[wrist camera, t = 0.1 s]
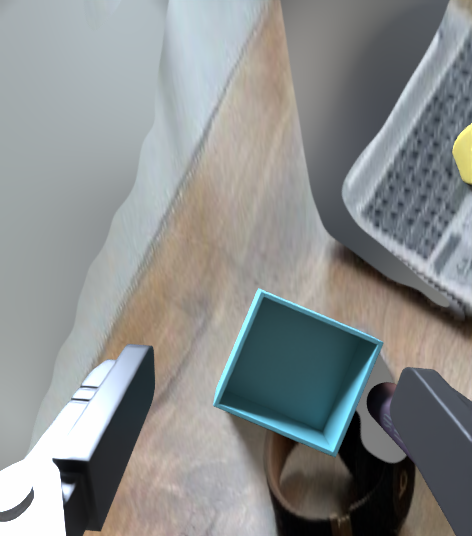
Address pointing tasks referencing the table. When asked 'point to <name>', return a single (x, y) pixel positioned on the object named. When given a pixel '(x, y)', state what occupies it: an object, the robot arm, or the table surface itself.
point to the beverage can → (384, 411)
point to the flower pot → (464, 154)
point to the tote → (297, 372)
